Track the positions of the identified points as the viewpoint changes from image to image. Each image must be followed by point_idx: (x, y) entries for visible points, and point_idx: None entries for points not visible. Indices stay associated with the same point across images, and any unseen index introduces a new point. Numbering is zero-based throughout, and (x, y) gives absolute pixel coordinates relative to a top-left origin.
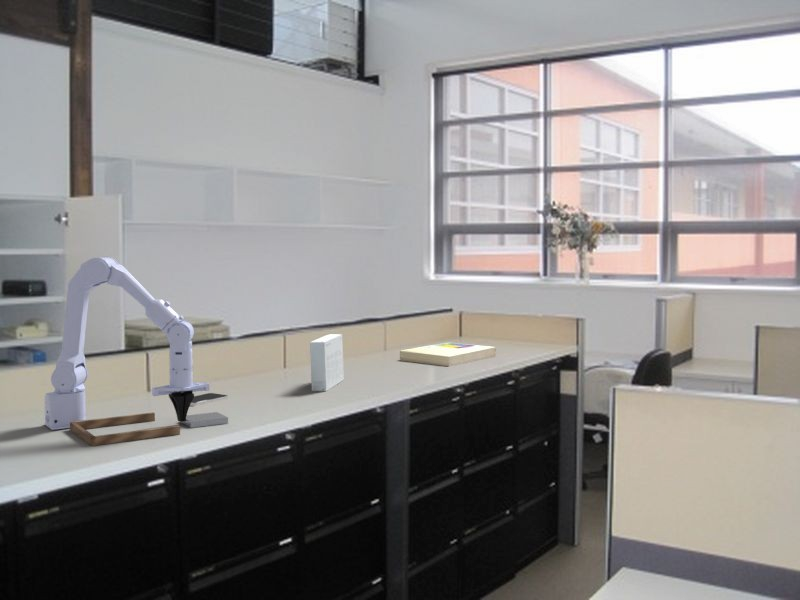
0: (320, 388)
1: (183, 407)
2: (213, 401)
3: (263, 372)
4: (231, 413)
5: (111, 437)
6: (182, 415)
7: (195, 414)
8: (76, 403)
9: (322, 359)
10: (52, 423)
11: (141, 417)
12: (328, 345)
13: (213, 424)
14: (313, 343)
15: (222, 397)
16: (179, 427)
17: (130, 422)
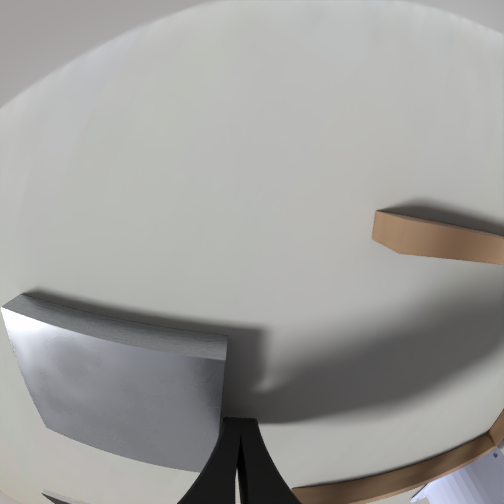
0: None
1: (234, 491)
2: (69, 498)
3: (18, 501)
4: (16, 412)
5: None
6: (248, 443)
7: (136, 459)
8: (488, 492)
9: None
10: (498, 450)
11: (343, 495)
12: None
13: (81, 312)
14: None
15: (51, 495)
16: (402, 218)
17: (376, 478)
